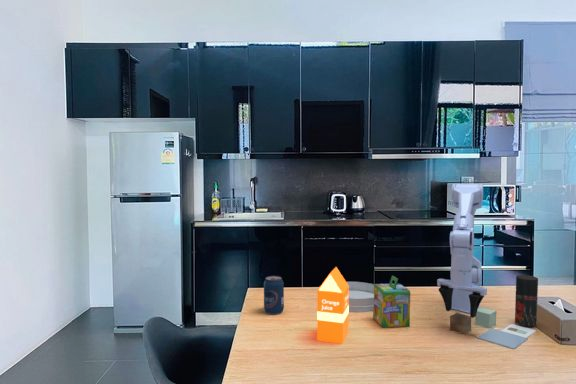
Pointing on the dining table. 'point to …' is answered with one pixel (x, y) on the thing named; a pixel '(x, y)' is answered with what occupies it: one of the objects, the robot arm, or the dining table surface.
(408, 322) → the chalk box
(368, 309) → the dish
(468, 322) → the block walnut
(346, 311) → the orange juice
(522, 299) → the deodorant
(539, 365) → the dining table surface
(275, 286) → the soda can
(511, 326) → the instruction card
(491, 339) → the baseplate
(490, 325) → the block sage
